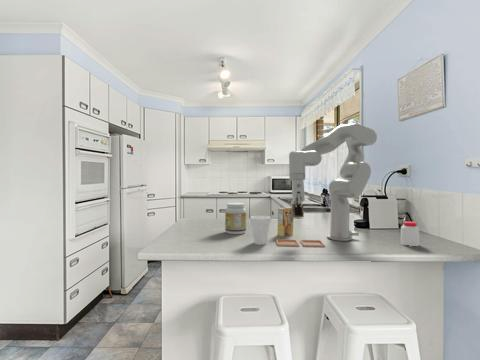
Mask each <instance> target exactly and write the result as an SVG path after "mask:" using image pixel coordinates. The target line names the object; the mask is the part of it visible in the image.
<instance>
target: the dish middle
mask: <svg viewBox="0 0 480 360" xmlns="http://www.w3.org/2000/svg"><path fill="white" fill-rule="evenodd" d="M275 241H276V245H277V247H297V248H298V247H300V244H299V241H298V240H297V239H281V238H280V239H278V238H277V239H276V240H275Z"/></svg>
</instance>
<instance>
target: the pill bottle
mask: <svg viewBox="0 0 480 360" xmlns="http://www.w3.org/2000/svg"><path fill="white" fill-rule="evenodd" d="M402 244H404V245H403V246H405V245H409V246H408V247H412V246H417V247H419V246H418V245H420V227H418V224H417V221H406V220H405V221H403V225H401V226H400V245H402Z"/></svg>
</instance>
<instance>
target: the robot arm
mask: <svg viewBox="0 0 480 360" xmlns="http://www.w3.org/2000/svg"><path fill="white" fill-rule="evenodd" d="M377 140H378V136H377V132H376V131H375V130H374V129H372V128H369V127H367V126H365V125H362V124H358V123H352V122H351V123H348V124H341V125H338V126H337V127H335V128H334V129H332V130H331V131H329V133H327V134H326V135H324V136H323V137H321V138H319V139H317V140H316V141H313V142H311V143H309V144H307V145H306V146H304V147H303V148H301V149H300V150H297V151H293V150H292V151H290V152H289V154H288V164H289V165H288V167H289V170H288V171H289V173H288V174H289V176H288V177H289V181H291V194H292V195H291V196H292V199H293V203H295V216H301V215H302V205H301V203H302V201H305V184H304V183H305V181H306V167H315V166H318V165H319V164H320V163H321V162H322V155H326V154H329V153H331V152H334V151H335V150H336V149H337V148H339V147H340V146H342V145H343V144H344V143H346V145H347V146H346V147H347V150H348V151H347V152H348V153H347V156H346V157H345V158H346V159H345V160H344V161H343V164H342V165H341V168H340V171H339V175H340V177H341V178H336V179H333V180H331V182H330V183H329V184H328V185H329V186H328V191H329V192H328V193H329V198H330V221H329V223H330V224H329V225H330V228H329V229H330V231H329V234H327V235H326V238H327V239H329V240H333V241H340V242H347V241H352V240H353V236H356V237H357V236H359V235H360V233H359V231H351V230H350V209H351V208H350V206H351V205H350V202H349V200H348V199H357V198H359V197H360V196H361V195H362V194H363V192H364V190H365V188H366V186H367V184H368V181H369V179H370V178H371V173H372V169H371V166H370V164H368V163H367V162H365V155H364V151H363V149H362V147H368V146H373V145H374V144H375V143H376V142H377Z"/></svg>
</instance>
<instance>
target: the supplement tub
mask: <svg viewBox="0 0 480 360" xmlns="http://www.w3.org/2000/svg"><path fill="white" fill-rule="evenodd" d="M245 207H246V204H245V203H244V202H237V201H236V202H227V203H226V208H225V212H224V214H225V215H224V217H225V223H224V224H225V226H224V227H225V228H224V229H225V232H226V233H227V234H229V235H243V234H245V233H246V232H247V209H246V208H245Z"/></svg>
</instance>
